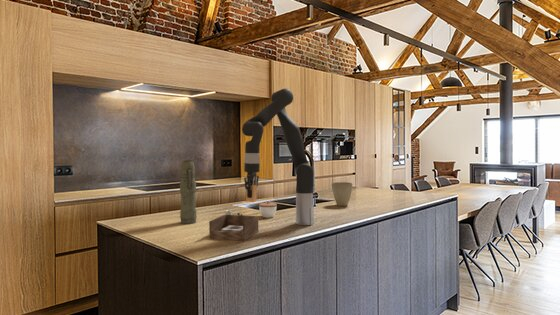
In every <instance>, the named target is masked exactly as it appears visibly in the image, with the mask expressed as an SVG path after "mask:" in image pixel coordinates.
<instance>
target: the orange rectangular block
mask: <svg viewBox="0 0 560 315" xmlns="http://www.w3.org/2000/svg"><path fill="white" fill-rule="evenodd" d="M257 190H258V186H257V185H253V186H252V198H248V197H247V189H245V202H248V203H249V202H250V203H251V202H252V203H255V202H257V193H258V192H257Z"/></svg>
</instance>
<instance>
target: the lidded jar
mask: <svg viewBox="0 0 560 315" xmlns="http://www.w3.org/2000/svg"><path fill="white" fill-rule="evenodd" d="M277 206H278V205H277V203H275V202H269V201H266V202H262V203H258V209H259V213H260V215H261V216H262V218H269V219H270V218H273V217H274V216H275V214H276V212H277Z"/></svg>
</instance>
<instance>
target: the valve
mask: <svg viewBox="0 0 560 315" xmlns="http://www.w3.org/2000/svg"><path fill="white" fill-rule="evenodd" d="M224 212H225V214H229V215H233V210H230V209H229V210H224ZM225 214H224V215H225ZM236 215H243V213H241V214H240V213H239V212H238V213H236Z"/></svg>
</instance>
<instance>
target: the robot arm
mask: <svg viewBox="0 0 560 315" xmlns="http://www.w3.org/2000/svg"><path fill="white" fill-rule="evenodd" d="M270 98H271V99H270V100H271V103H270V104H268V105H266V106H265V107H263V108H262V109H260V111H259V112H258V113H257V114H256V115H255V116H253V117H251V118H250V119H247V120H246V121H245V122H244V123H243V125H242V127H241V131H242V133H243V135H244V136H246V137H251V139H250V140H247V141H246V142H245V144H244V148H245V150H244V160H243V161H244V163H243V164H244V165H243V166H244V168H243V171H244V173H246V176H245V177H244V179H243V181H244V188H245V190H246V189H247V197H248V198H252V186H253V185H257V187H258V186H259V185H258V184H259V179H260V178H259V177H260V176H259V175H258V174H257V173H259V172H260V170H261V169H260V167H261V166H260V164H261V163H260V162H261V160H260V159H261V157H260V146H261V142H262V137H263V134H264V127H266V126H267V125H268V124H269V123H270V122H271V120H273V118H275V116H277V118H278V121H279V124H280V128H281V130H282V133H283V137H284V140H285V143H286V146H287V148H288V151H289V153H290V155H291V157H292V161H293V166H294V170H295V175H296V180H295V181H296V182H295V183H296V185H295V186H296V188H295V222H296V223H295V224H296V225H299V226H312V225H313V224H314V222H315V220H314V219H315V217H314V216H315V214H314V213H315V212H314V209H315V208H314V207H315V206H314V196H313V195H314V194H313V192H314V169H313V167H312V165H310V163H309V161H308V158H307V156H306V153H305V146H304V140H303V136H302V132H301V129H300V127H299V126H298V125H297V123H296V122H295V121H294V120H293V119H292V118H291V117H290V116H289V115H288V113H287V109H286V107H287V106H289V105H291V104H292V103H293V102H294V94H293V92H292V90H291V89H289V88H281V89H279V90H277V91H275V92H273V93H272V94H271V97H270Z"/></svg>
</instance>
